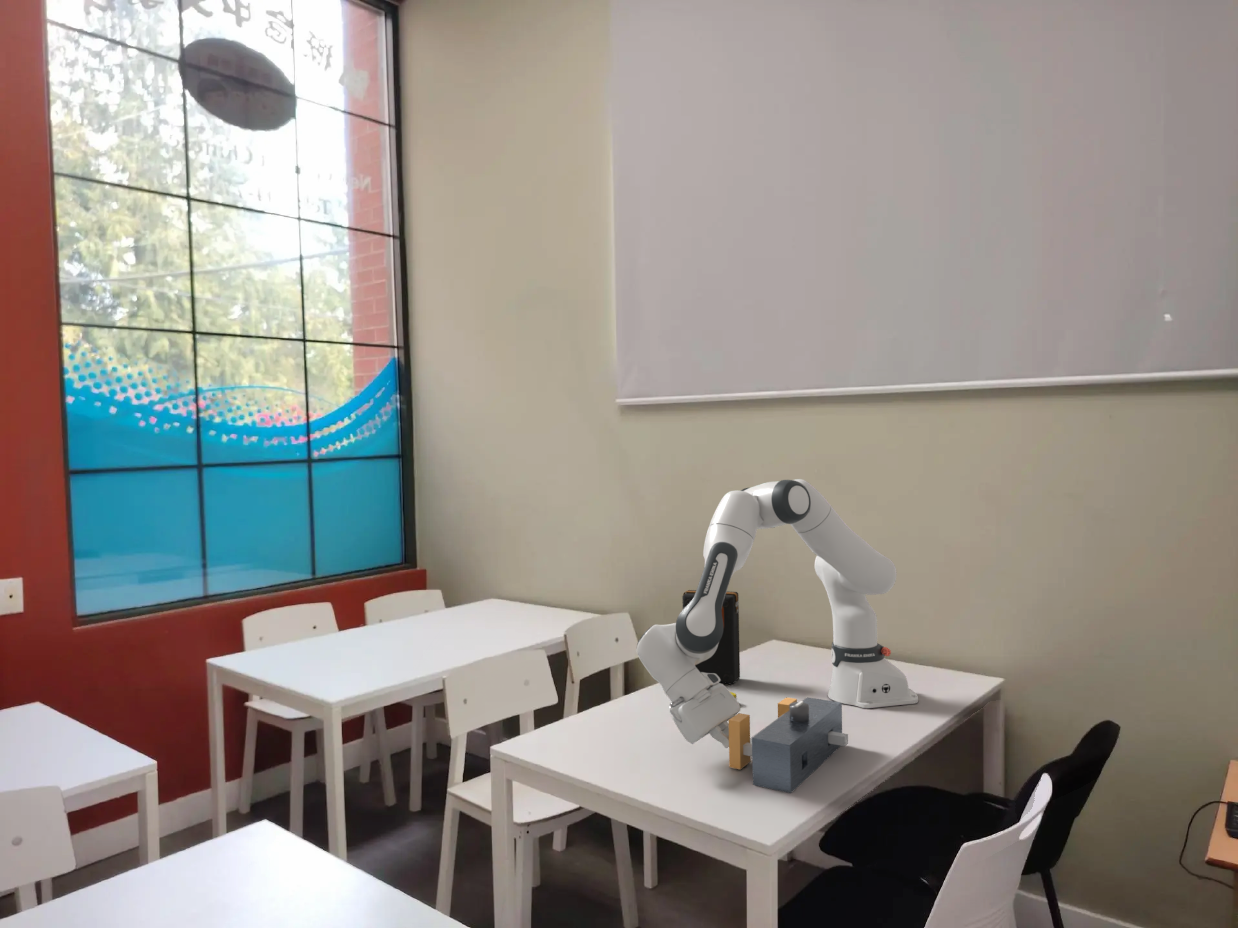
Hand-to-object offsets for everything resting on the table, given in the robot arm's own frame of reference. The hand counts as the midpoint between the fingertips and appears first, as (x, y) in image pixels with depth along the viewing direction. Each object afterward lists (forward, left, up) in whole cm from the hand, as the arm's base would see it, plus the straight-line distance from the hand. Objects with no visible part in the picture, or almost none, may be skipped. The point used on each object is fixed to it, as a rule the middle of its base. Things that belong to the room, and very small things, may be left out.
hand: (731, 744), depth 185 cm
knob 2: (-19, -5, -4) cm, 20 cm away
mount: (-14, +1, -4) cm, 15 cm away
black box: (-4, -62, -4) cm, 62 cm away
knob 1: (-6, +5, -4) cm, 9 cm away
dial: (-14, +1, +5) cm, 15 cm away
